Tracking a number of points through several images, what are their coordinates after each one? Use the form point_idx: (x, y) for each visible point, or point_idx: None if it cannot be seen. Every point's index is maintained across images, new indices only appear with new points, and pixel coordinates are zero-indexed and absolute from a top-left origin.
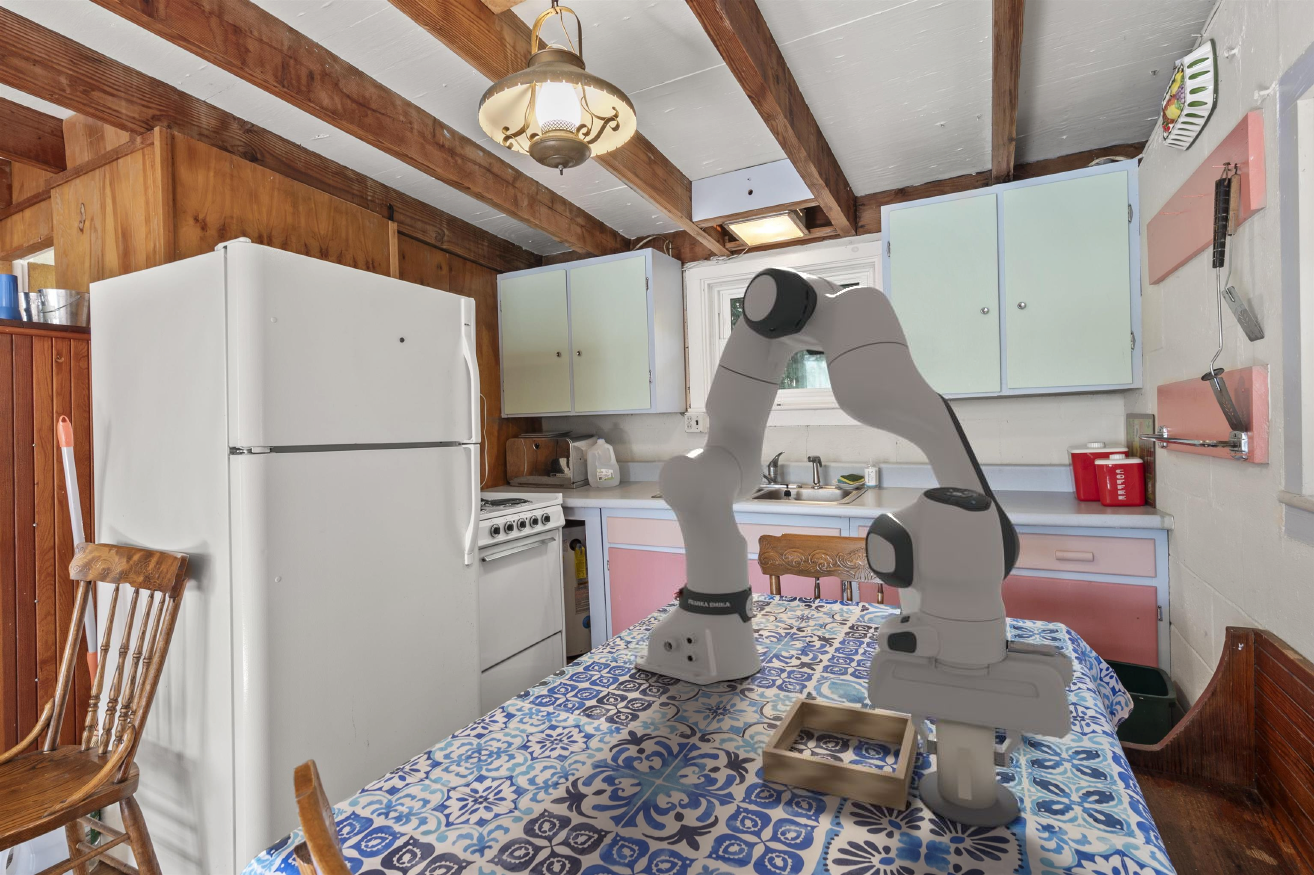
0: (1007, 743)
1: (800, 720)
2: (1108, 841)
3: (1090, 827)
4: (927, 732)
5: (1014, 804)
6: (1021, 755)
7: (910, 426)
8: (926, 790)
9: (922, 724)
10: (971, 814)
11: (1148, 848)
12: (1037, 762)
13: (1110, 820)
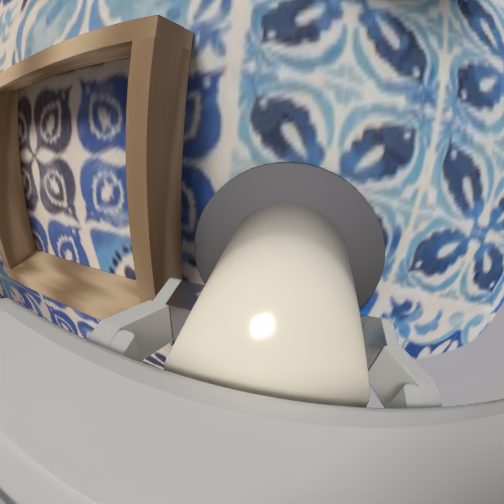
0: (383, 386)
1: (5, 106)
2: (459, 319)
3: (459, 296)
4: (163, 323)
5: (371, 283)
6: (444, 48)
7: None
8: (209, 264)
9: (140, 338)
10: None
11: (488, 320)
12: (469, 80)
13: (492, 273)
